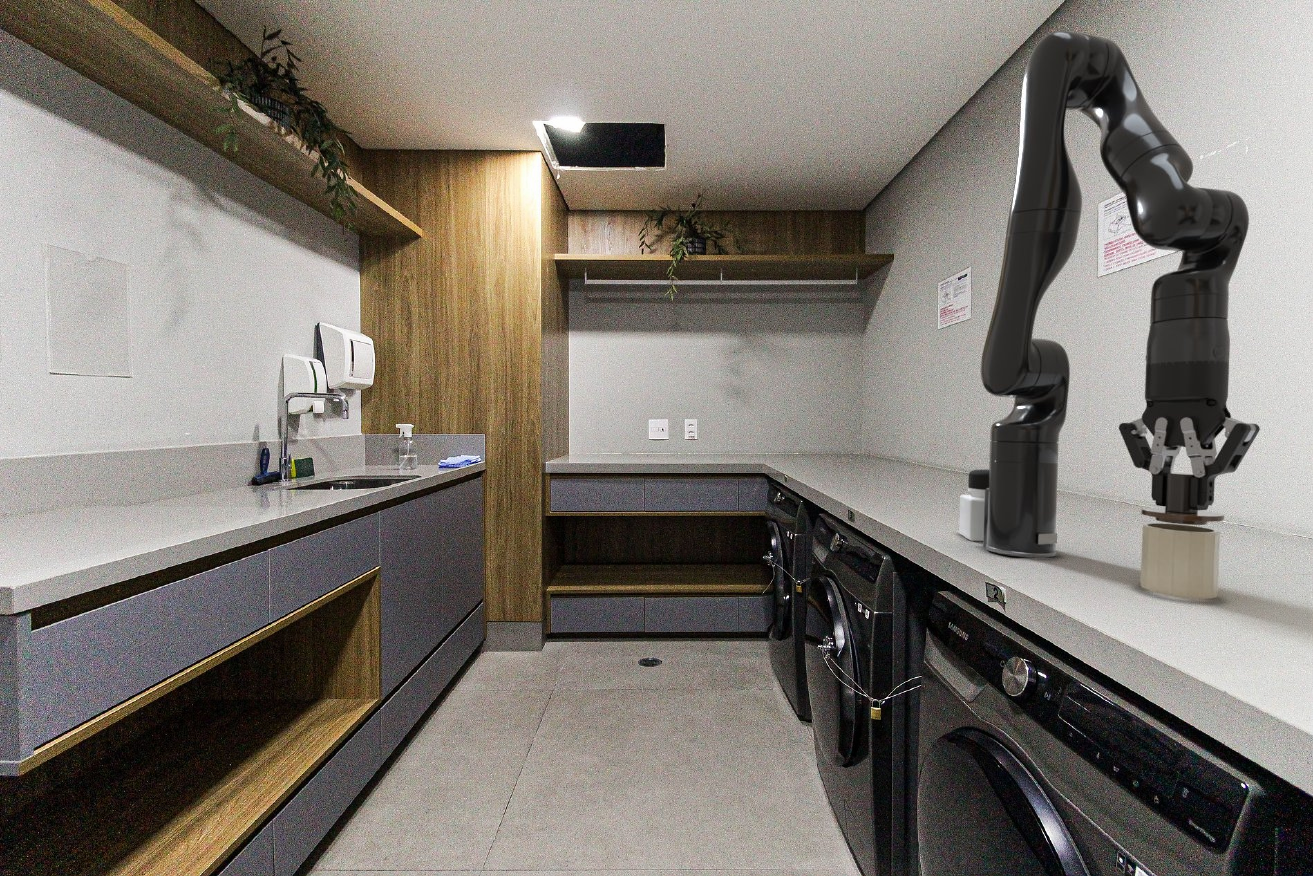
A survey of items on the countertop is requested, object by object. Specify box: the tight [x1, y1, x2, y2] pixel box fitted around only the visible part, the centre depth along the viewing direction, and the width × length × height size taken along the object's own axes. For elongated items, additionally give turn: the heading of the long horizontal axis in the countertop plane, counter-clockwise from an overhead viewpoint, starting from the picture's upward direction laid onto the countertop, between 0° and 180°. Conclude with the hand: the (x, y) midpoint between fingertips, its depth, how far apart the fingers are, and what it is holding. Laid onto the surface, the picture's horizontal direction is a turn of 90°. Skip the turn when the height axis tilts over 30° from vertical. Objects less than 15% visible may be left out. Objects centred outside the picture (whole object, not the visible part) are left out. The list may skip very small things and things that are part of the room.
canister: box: [1139, 522, 1221, 600], centre depth 75 cm, size 7×7×8 cm
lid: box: [1140, 472, 1225, 526], centre depth 75 cm, size 8×8×6 cm
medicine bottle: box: [958, 468, 989, 542], centre depth 111 cm, size 7×7×12 cm
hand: (1181, 507), depth 75 cm, fingers closed on lid, 3 cm apart
